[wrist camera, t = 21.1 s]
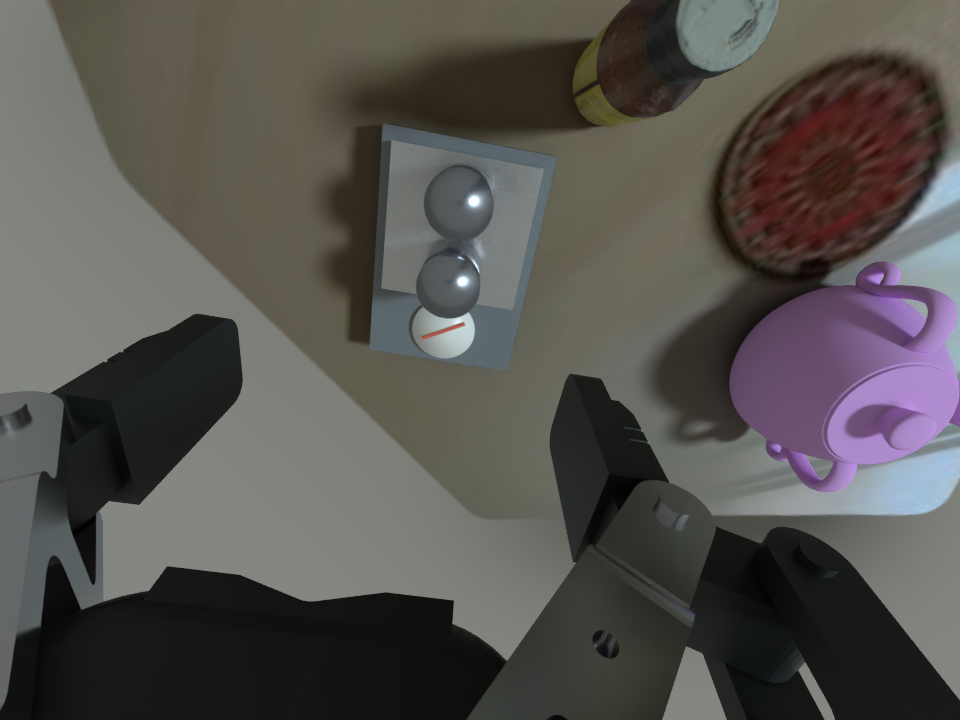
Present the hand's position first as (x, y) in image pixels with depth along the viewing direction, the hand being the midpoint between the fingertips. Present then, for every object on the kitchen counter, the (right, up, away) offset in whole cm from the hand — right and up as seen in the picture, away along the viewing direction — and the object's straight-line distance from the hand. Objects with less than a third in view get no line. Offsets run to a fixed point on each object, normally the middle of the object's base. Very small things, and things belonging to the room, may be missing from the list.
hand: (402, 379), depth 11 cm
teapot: (+38, +1, +36) cm, 52 cm away
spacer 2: (0, +9, +27) cm, 28 cm away
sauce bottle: (+12, +23, +24) cm, 36 cm away
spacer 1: (+1, +14, +24) cm, 28 cm away
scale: (0, +11, +31) cm, 32 cm away
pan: (0, +12, +26) cm, 29 cm away
